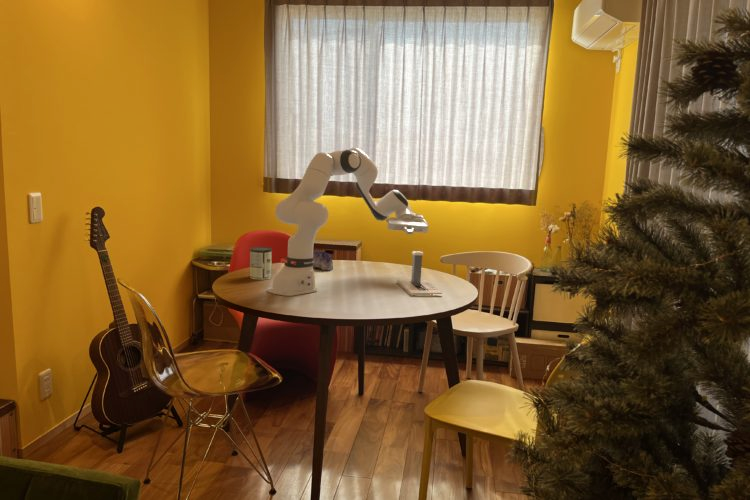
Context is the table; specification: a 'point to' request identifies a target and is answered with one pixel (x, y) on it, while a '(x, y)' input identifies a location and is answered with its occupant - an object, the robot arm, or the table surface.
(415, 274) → the fader tab
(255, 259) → the coffee can
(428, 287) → the console
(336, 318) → the table surface
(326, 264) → the geode
